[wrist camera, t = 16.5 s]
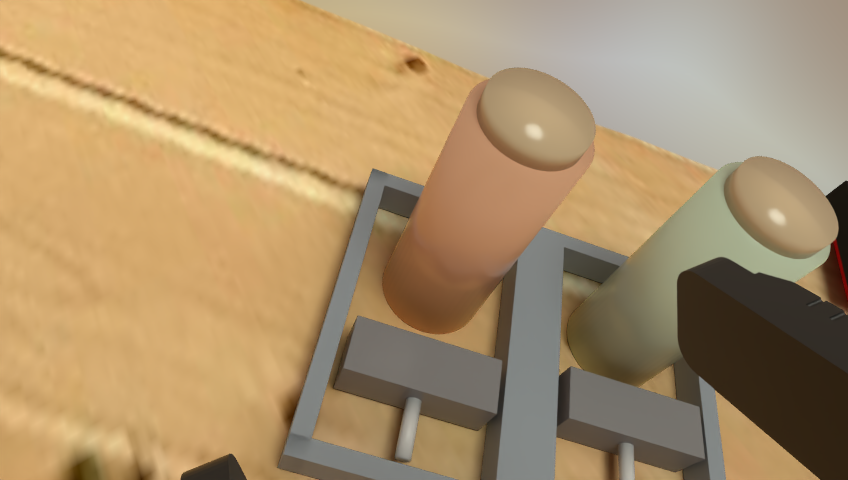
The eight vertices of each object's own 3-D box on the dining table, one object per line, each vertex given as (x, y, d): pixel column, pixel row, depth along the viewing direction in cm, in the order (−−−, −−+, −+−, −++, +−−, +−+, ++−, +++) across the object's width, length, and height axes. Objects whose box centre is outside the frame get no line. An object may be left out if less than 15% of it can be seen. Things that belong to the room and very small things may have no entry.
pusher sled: (317, 444, 31) (326, 427, 28) (347, 337, 34) (357, 315, 32) (470, 487, 32) (490, 473, 30) (484, 379, 35) (502, 360, 33)
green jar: (565, 373, 37) (739, 229, 26) (568, 290, 41) (721, 131, 29) (655, 402, 38) (863, 274, 26) (650, 318, 42) (830, 173, 30)
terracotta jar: (372, 315, 36) (464, 133, 24) (393, 234, 39) (482, 42, 28) (471, 346, 36) (607, 184, 25) (482, 264, 40) (605, 89, 28)
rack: (277, 467, 29) (284, 451, 27) (364, 190, 41) (374, 164, 39) (709, 585, 33) (744, 578, 31) (680, 298, 44) (705, 279, 42)
